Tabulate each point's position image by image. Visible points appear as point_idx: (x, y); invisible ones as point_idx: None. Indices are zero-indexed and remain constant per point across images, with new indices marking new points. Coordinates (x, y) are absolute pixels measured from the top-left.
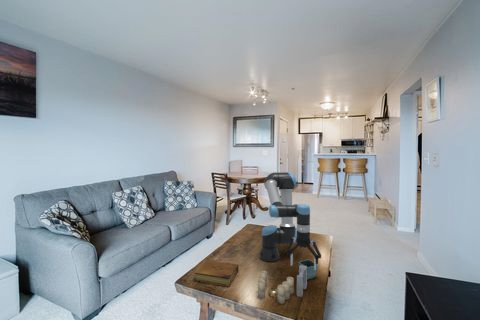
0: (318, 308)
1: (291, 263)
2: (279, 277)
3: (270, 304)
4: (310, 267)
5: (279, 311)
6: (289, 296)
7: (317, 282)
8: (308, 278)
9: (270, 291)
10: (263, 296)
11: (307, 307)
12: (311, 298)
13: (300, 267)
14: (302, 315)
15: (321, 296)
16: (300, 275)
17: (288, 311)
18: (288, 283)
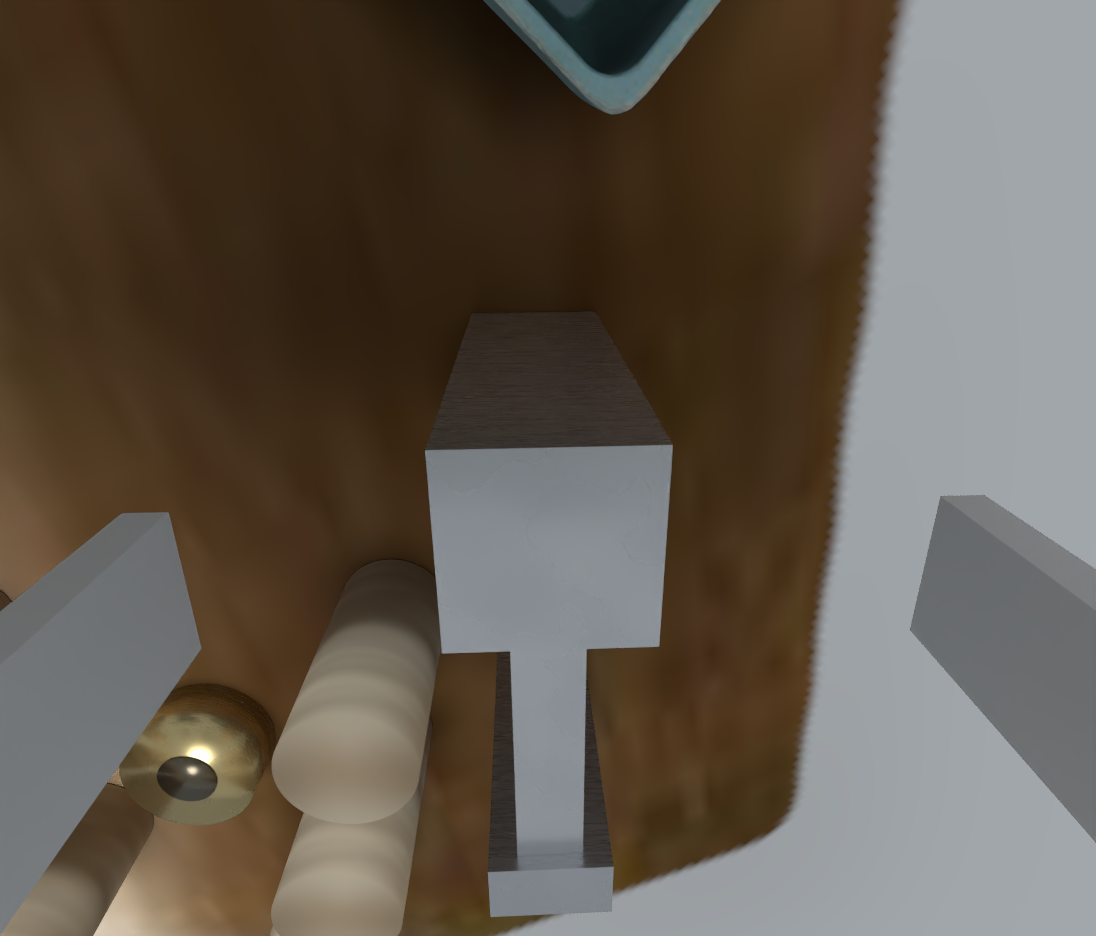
0: (786, 744)
1: (149, 703)
2: (13, 227)
3: (276, 882)
4: (716, 1)
5: (407, 924)
6: (428, 751)
7: (783, 64)
8: (596, 34)
9: (164, 811)
10: (136, 856)
11: (665, 775)
12: (698, 607)
13: (483, 627)
14: (631, 888)
15: (834, 506)
16: (550, 823)
17: (488, 894)
18: (377, 907)
